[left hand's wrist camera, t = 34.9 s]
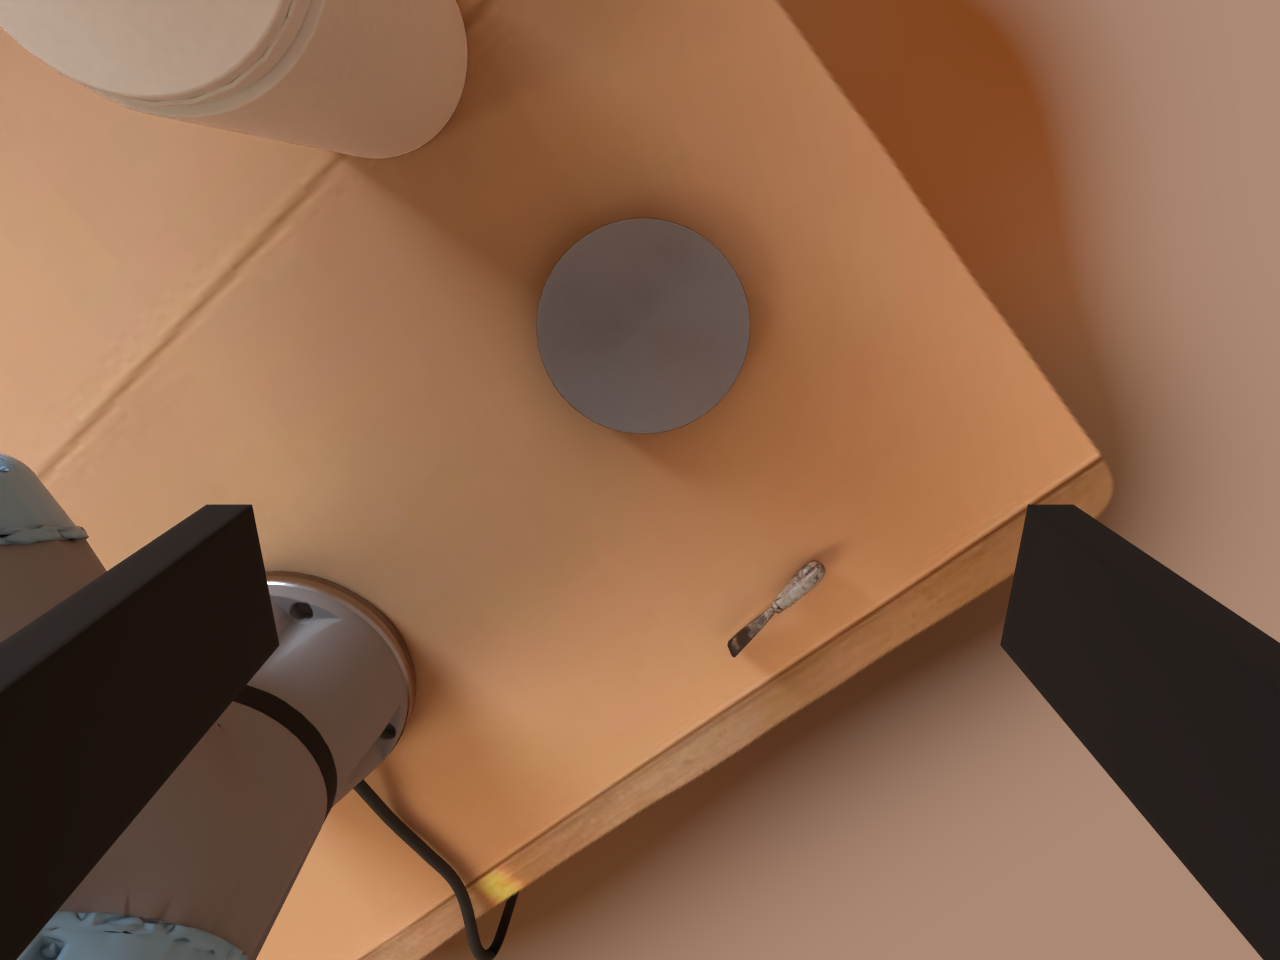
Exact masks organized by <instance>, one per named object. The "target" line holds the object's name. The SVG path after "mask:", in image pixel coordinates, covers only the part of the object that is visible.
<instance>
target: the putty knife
mask: <svg viewBox="0 0 1280 960" xmlns="http://www.w3.org/2000/svg"><path fill="white" fill-rule="evenodd" d="M825 572H826V571H825V567H824V566H823V565H822V563H820V562H819V561H811V562H809V563H808V564H806V565H805V566H804V567H803V568H802V569H801V570H799V571H798V572H797V573H796V574H795V576H794V577H793V578H792V579H791V580H790V581H789V582H788V584H787V585H786V586H785V587H784V588H783V589H782V591H781V592H780V593H779V595H778V596H777V597H776V598H775V600H774V601H773V602H772V603H771V605H772V607H771V608H769V609H768V610H766V611H765V612H764V613H762V614H761V615H760V616H758V617H757V618H756V619H754V620H753V621H752V622H750V623H749V624H748V625H747V626H746V627H744V628H743V629H742V630H741V631H739V632H738V633H737V634H736V635H735V636H734V637H733V638H731V640H729V642H728V648H729V650H730V653H731V655H732V656H733V657H736V656H737V655H738V654H739V652H740V651H741V650H742V649H743V648H744V647H745V646H746V645H747V644H748V643H749V642H750V641H751V640H752V639H753V637H754V636H755V635H756V634H757V633H758V632H759V631H760V630H761V629H762V628H763V626H764V625H765V624H766V623H767V622H768V621H769V619H770V618H771V617H772V616H773V615H774V613H775V612H777V613H780V612H782V611H783V610H785V609H786V608H788V607H790V606H791V605H792V604H794V603H795V602H796V601H798V600H799V599H800V598H802V597H803V596H804V595H806V594H807V593H808V592H809V591H810V590H811V589H813V588H814V587H815V586H816V585H817V584H818V583H819V582H820V581H821V580H822V578H823V577H824V575H825Z"/></svg>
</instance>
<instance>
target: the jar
mask: <svg viewBox="0 0 1280 960" xmlns="http://www.w3.org/2000/svg"><path fill="white" fill-rule="evenodd" d="M0 26H1V27H2V28H3V29H4V30H5V31H6V32H7V33H8V34H9V35H10V36H11V37H12V38H14V39H15V40H16V41H17V42H18V43H19V44H20V45H21V46H23V47H24V48H25V49H26V50H27V51H28V52H30V53H31V54H33V55H34V56H35V57H37V58H38V59H40V60H41V61H42V62H44V63H45V64H47V65H48V66H49V67H51V68H53V69H55V70H57V71H58V72H59V73H60V74H61V75H63V76H65V77H67V78H69V79H71V80H73V81H75V82H77V83H79V84H81V85H83V86H85V87H87V88H88V89H90V90H92V91H94V92H95V93H97V94H99V95H101V96H103V97H104V98H106V99H108V100H110V101H113V102H115V103H118V104H120V105H122V106H125V107H127V108H130V109H133V110H136V111H140V112H144V113H147V114H151V115H155V116H160V117H165V118H170V119H175V120H180V121H185V122H189V123H194V124H199V125H204V126H209V127H214V128H219V129H224V130H229V131H234V132H239V133H243V134H248V135H253V136H258V137H263V138H268V139H273V140H278V141H283V142H288V143H293V144H298V145H302V146H307V147H312V148H317V149H322V150H327V151H332V152H337V153H342V154H347V155H352V156H357V157H363V158H370V159H384V158H391V157H397V156H400V155H403V154H407V153H409V152H411V151H414V150H416V149H418V148H420V147H421V146H423V145H424V144H426V143H427V142H429V141H430V140H431V139H432V138H433V137H435V136H436V135H437V134H438V133H439V132H440V131H441V130H442V128H443V127H444V126H445V125H446V123H447V122H448V121H449V119H450V118H451V116H452V114H453V113H454V111H455V109H456V107H457V105H458V102H459V100H460V98H461V94H462V91H463V88H464V84H465V79H466V72H467V59H468V51H467V38H466V33H465V27H464V22H463V19H462V16H461V13H460V9H459V6H458V4H457V2H456V0H0Z"/></svg>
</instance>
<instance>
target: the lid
mask: <svg viewBox="0 0 1280 960" xmlns="http://www.w3.org/2000/svg"><path fill="white" fill-rule="evenodd" d="M749 336H750V314H749V308H748V302H747V298H746V295H745V292H744V288H743V286H742V284H741V282H740V279H739V277H738V275H737V273H736V272H735V270H734V268H733V267H732V265H731V264H730V262H729V261H728V260H727V258H726V257H725V256H724V255H723V254H722V252H721V251H720V250H719V249H718V248H716V247H715V246H714V245H713V244H712V243H711V242H710V241H709V240H707V239H706V238H704V237H703V236H701V235H700V234H698V233H697V232H695V231H693V230H691V229H689V228H687V227H685V226H682V225H679V224H676V223H673V222H670V221H665V220H660V219H653V218H635V219H626V220H622V221H617V222H613V223H610V224H608V225H605V226H603V227H600V228H598V229H596V230H594V231H592V232H591V233H589V234H587V235H585V236H584V237H583V238H581V239H580V240H579V241H577V242H576V243H575V244H574V245H572V246H571V247H570V248H569V249H568V250H567V251H566V252H565V253H564V254H563V256H562V257H561V258H560V260H559V261H558V262H557V263H556V265H555V266H554V268H553V270H552V271H551V273H550V275H549V277H548V278H547V281H546V283H545V286H544V288H543V291H542V294H541V298H540V301H539V305H538V313H537V340H538V347H539V351H540V355H541V359H542V362H543V364H544V367H545V369H546V372H547V374H548V376H549V377H550V379H551V381H552V383H553V385H554V386H555V387H556V389H557V390H558V392H559V393H560V394H561V396H562V397H563V398H564V399H565V400H566V401H567V402H568V403H569V404H570V405H571V406H572V407H573V408H574V409H576V410H577V411H578V412H579V413H581V414H582V415H583V416H585V417H587V418H588V419H590V420H592V421H593V422H595V423H598V424H600V425H602V426H604V427H607V428H610V429H613V430H616V431H621V432H626V433H634V434H651V433H660V432H665V431H670V430H673V429H676V428H679V427H682V426H685V425H687V424H689V423H691V422H693V421H695V420H697V419H698V418H700V417H701V416H703V415H704V414H706V413H707V412H708V411H710V410H711V409H712V408H713V407H714V406H715V405H717V404H718V403H719V401H720V400H721V399H722V398H723V397H724V396H725V395H726V394H727V392H728V391H729V389H730V388H731V387H732V385H733V384H734V382H735V380H736V378H737V376H738V375H739V373H740V371H741V368H742V365H743V363H744V360H745V357H746V353H747V349H748V345H749Z"/></svg>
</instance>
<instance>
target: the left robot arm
mask: <svg viewBox="0 0 1280 960" xmlns="http://www.w3.org/2000/svg"><path fill="white" fill-rule="evenodd" d="M88 537H89V536H88V535H87V533H86V531H85V530H84V528H83V527H79V526H76V525H75V524H74V523H73V522H72V520H71V519H70V518H69V517H68V515H67V514H66V513H65V512H64V510H63V509H62V508H61V506H60V505H59V504H58V503H57V501H56V500H55V499H54V498H53V496H52V495H51V494H50V493H49V491H48V490H47V489H46V488H45V486H44V485H43V484H42V483H41V481H40V480H39V479H38V477H37V476H36V475H35V473H34V472H33V471H32V470H31V469H30V468H29V467H28V466H26V465H25V464H24V463H22V462H21V461H19V460H17V459H15V458H13V457H11V456H8V455H5V454H2V453H0V960H256V958H257V956H258V954H259V952H260V950H261V948H262V946H263V944H264V942H265V940H266V938H267V936H268V934H269V932H270V930H271V928H272V926H273V924H274V922H275V920H276V918H277V916H278V914H279V912H280V910H281V908H282V906H283V904H284V902H285V900H286V898H287V896H288V894H289V892H290V890H291V888H292V886H293V884H294V882H295V880H296V878H297V876H298V874H299V872H300V870H301V868H302V866H303V864H304V862H305V860H306V858H307V856H308V854H309V852H310V850H311V848H312V846H313V844H314V842H315V840H316V838H317V836H318V834H319V832H320V830H321V827H322V825H323V823H324V821H325V819H326V817H327V815H328V813H329V812H330V810H331V808H332V807H333V806H334V805H335V804H336V803H337V802H338V801H339V800H341V799H342V798H343V797H344V796H345V795H346V794H347V793H348V792H349V791H351V790H352V789H354V790H355V791H356V792H357V793H358V794H359V795H360V796H361V797H362V799H363V800H364V801H365V802H366V803H367V804H368V805H369V806H370V807H371V808H372V810H373V811H374V812H375V813H376V814H377V815H378V816H379V817H380V818H381V819H382V820H383V821H384V822H385V823H386V824H387V825H388V826H389V827H390V828H391V829H392V830H393V831H394V832H395V833H396V834H397V835H398V836H399V837H400V838H401V839H402V840H403V841H405V842H406V843H407V844H408V845H409V846H410V847H411V848H412V849H413V850H414V851H415V852H417V853H418V854H419V855H420V856H421V857H422V858H423V859H424V860H425V861H426V862H427V863H428V864H429V865H431V866H432V867H433V868H434V869H435V870H436V871H437V872H438V873H440V874H441V875H442V876H443V877H444V878H445V880H446V881H447V882H448V883H449V884H450V886H451V887H452V889H453V891H454V892H455V895H456V897H457V899H458V902H459V905H460V908H461V911H462V915H463V920H464V924H465V929H466V933H467V938H468V942H469V945H470V948H471V951H472V953H473V955H474V957H475V958H476V959H477V960H492V959H493V958H494V957H495V956H496V955H497V953H498V952H499V950H500V948H501V946H502V944H503V941H504V938H505V936H506V933H507V929H508V926H509V923H510V920H511V917H512V913H513V910H514V907H515V904H516V900H517V897H518V894H519V890H518V891H517V892H516V893H514V894H512V895H511V896H510V897H508V898H507V901H506V904H505V907H504V910H503V913H502V917H501V920H500V923H499V926H498V929H497V932H496V934H495V937H494V940H493V942H492V944H491V946H490V947H489V948H488V949H487V950H485V949H484V948H483V947H482V945H481V942H480V939H479V935H478V930H477V925H476V921H475V916H474V911H473V908H472V904H471V901H470V898H469V895H468V893H467V890H466V888H465V886H464V884H463V883H462V881H461V879H460V878H459V876H458V875H457V873H456V872H455V871H454V870H453V869H452V868H451V866H450V865H449V864H447V863H446V862H445V861H444V860H443V859H442V858H441V857H440V856H439V855H437V854H436V853H435V852H434V851H433V850H432V849H431V848H430V847H429V846H428V845H427V844H426V843H425V842H424V841H423V840H422V839H420V838H419V837H418V836H417V835H416V834H415V833H414V832H413V831H412V830H411V829H410V828H409V827H407V826H406V825H405V824H404V823H403V822H402V821H401V820H400V819H399V818H398V817H397V816H396V815H395V814H394V813H393V812H392V811H391V810H390V809H389V808H388V807H387V805H386V804H385V803H384V802H383V801H382V800H381V799H380V798H379V796H378V795H377V794H376V793H375V792H374V791H373V790H372V789H371V787H370V786H369V785H368V784H367V783H366V782H365V781H364V780H363V779H364V778H365V777H366V776H367V775H368V774H369V773H370V772H372V771H373V770H374V769H375V768H376V767H377V766H378V765H379V764H380V763H381V762H382V761H383V760H384V759H385V758H386V757H387V756H388V754H389V753H390V752H391V751H392V750H393V748H394V747H395V746H396V744H397V743H398V741H399V739H400V737H401V735H402V733H403V731H404V729H405V727H406V724H407V722H408V720H409V718H410V715H411V712H412V710H413V706H414V702H415V694H416V680H415V672H414V667H413V663H412V660H411V657H410V654H409V652H408V650H407V648H406V645H405V643H404V642H403V640H402V638H401V637H400V635H399V633H398V632H397V631H396V629H395V628H394V627H393V625H392V624H391V623H390V622H389V621H388V619H387V618H386V617H385V616H384V615H383V614H382V613H381V612H380V611H379V610H378V609H377V608H375V607H374V606H373V605H372V604H370V603H369V602H368V601H367V600H365V599H364V598H362V597H361V596H359V595H358V594H356V593H354V592H352V591H351V590H349V589H347V588H345V587H343V586H341V585H339V584H336V583H334V582H331V581H329V580H326V579H323V578H319V577H316V576H312V575H307V574H302V573H295V572H280V571H273V572H265V568H264V563H263V558H262V553H261V548H260V543H259V538H258V533H257V528H256V523H255V518H254V513H253V507H252V505H205V506H204V507H202V508H201V509H200V510H198V511H197V512H195V513H194V514H192V515H191V516H189V517H188V518H186V519H185V520H183V521H182V522H180V523H179V524H177V525H176V526H174V527H173V528H171V529H170V530H168V531H167V532H165V533H164V534H162V535H161V536H159V537H158V538H156V539H155V540H153V541H152V542H150V543H149V544H147V545H146V546H144V547H143V548H141V549H140V550H138V551H137V552H135V553H134V554H132V555H131V556H129V557H128V558H126V559H125V560H123V561H122V562H120V563H119V564H117V565H116V566H114V567H113V568H111V569H110V570H109V571H106V570H105V568H104V567H103V565H102V564H101V562H100V560H99V559H98V557H97V556H96V554H95V553H94V551H93V550H92V548H91V547H90V545H89V544H88V542H87V541H86V539H87V538H88ZM1001 646H1002V648H1003V649H1004V650H1005V651H1006V652H1007V654H1008V655H1009V656H1010V657H1011V658H1012V660H1013V661H1014V662H1015V663H1016V664H1017V666H1018V667H1019V668H1020V669H1021V670H1022V672H1023V673H1024V674H1025V675H1026V676H1027V678H1028V679H1029V680H1030V681H1031V682H1032V684H1033V685H1034V686H1035V687H1036V688H1037V689H1038V691H1039V692H1040V693H1041V694H1042V695H1043V697H1044V698H1045V699H1046V700H1047V701H1048V703H1049V704H1050V705H1051V706H1052V707H1053V709H1054V710H1055V711H1056V712H1057V713H1058V715H1059V716H1060V717H1061V718H1062V719H1063V721H1064V722H1065V723H1066V724H1067V725H1068V727H1069V728H1070V729H1071V730H1072V731H1073V733H1074V734H1075V735H1076V736H1077V737H1078V739H1079V740H1080V741H1081V742H1082V743H1083V745H1084V746H1085V747H1086V748H1087V749H1088V750H1089V752H1090V753H1091V754H1092V755H1093V757H1094V758H1095V759H1096V760H1097V761H1098V762H1099V764H1100V765H1101V766H1102V767H1103V768H1104V770H1105V771H1106V772H1107V773H1108V774H1109V776H1110V777H1111V778H1112V779H1113V780H1114V782H1115V783H1116V784H1117V785H1118V786H1119V788H1120V789H1121V790H1122V791H1123V792H1124V794H1125V795H1126V796H1127V797H1128V798H1129V800H1130V801H1131V802H1132V803H1133V804H1134V806H1135V807H1136V808H1137V809H1138V810H1139V812H1140V813H1141V814H1142V815H1143V816H1144V817H1145V819H1146V820H1147V821H1148V822H1149V823H1150V825H1151V826H1152V827H1153V828H1154V829H1155V831H1156V832H1157V833H1158V834H1159V835H1160V837H1161V838H1162V839H1163V840H1164V841H1165V843H1166V844H1167V845H1168V846H1169V847H1170V849H1171V850H1172V851H1173V852H1174V853H1175V854H1176V856H1177V857H1178V858H1179V859H1180V860H1181V862H1182V863H1183V864H1184V865H1185V866H1186V868H1187V869H1188V870H1189V871H1190V873H1191V874H1192V875H1193V876H1194V877H1195V878H1196V880H1197V881H1198V882H1199V883H1200V884H1201V886H1202V887H1203V888H1204V889H1205V890H1206V892H1207V893H1208V894H1209V895H1210V896H1211V898H1212V899H1213V900H1214V901H1215V902H1216V904H1217V905H1218V906H1219V907H1220V908H1221V910H1222V911H1223V912H1224V913H1225V914H1226V916H1227V917H1228V918H1229V919H1230V920H1231V922H1232V923H1233V924H1234V925H1235V926H1236V928H1237V929H1238V930H1239V931H1240V932H1241V933H1242V935H1243V936H1244V937H1245V938H1246V939H1247V941H1248V942H1249V943H1250V944H1251V945H1252V947H1253V948H1254V949H1255V950H1256V951H1257V953H1258V954H1259V955H1260V956H1261V957H1262V959H1263V960H1280V643H1279V642H1277V641H1276V640H1274V639H1273V638H1271V637H1270V636H1268V635H1267V634H1265V633H1264V632H1262V631H1261V630H1259V629H1258V628H1256V627H1255V626H1254V625H1252V624H1251V623H1249V622H1248V621H1246V620H1245V619H1243V618H1242V617H1240V616H1239V615H1237V614H1236V613H1234V612H1233V611H1231V610H1230V609H1228V608H1227V607H1225V606H1224V605H1222V604H1221V603H1219V602H1218V601H1216V600H1215V599H1213V598H1212V597H1210V596H1209V595H1207V594H1206V593H1204V592H1203V591H1201V590H1200V589H1198V588H1197V587H1195V586H1194V585H1192V584H1191V583H1189V582H1188V581H1186V580H1185V579H1183V578H1182V577H1180V576H1179V575H1177V574H1176V573H1174V572H1173V571H1171V570H1170V569H1169V568H1167V567H1165V566H1164V565H1163V564H1161V563H1160V562H1158V561H1157V560H1155V559H1154V558H1152V557H1151V556H1149V555H1148V554H1146V553H1145V552H1143V551H1142V550H1140V549H1139V548H1137V547H1136V546H1134V545H1133V544H1131V543H1130V542H1128V541H1127V540H1125V539H1124V538H1122V537H1121V536H1119V535H1118V534H1116V533H1115V532H1113V531H1112V530H1110V529H1109V528H1107V527H1106V526H1104V525H1103V524H1101V523H1100V522H1098V521H1097V520H1095V519H1094V518H1092V517H1091V516H1089V515H1088V514H1086V513H1085V512H1083V511H1082V510H1080V509H1079V508H1078V507H1076V506H1075V505H1028V507H1027V513H1026V518H1025V523H1024V528H1023V533H1022V538H1021V543H1020V548H1019V553H1018V558H1017V563H1016V568H1015V574H1014V579H1013V584H1012V589H1011V594H1010V599H1009V604H1008V609H1007V614H1006V619H1005V624H1004V629H1003V635H1002V640H1001Z"/></svg>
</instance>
